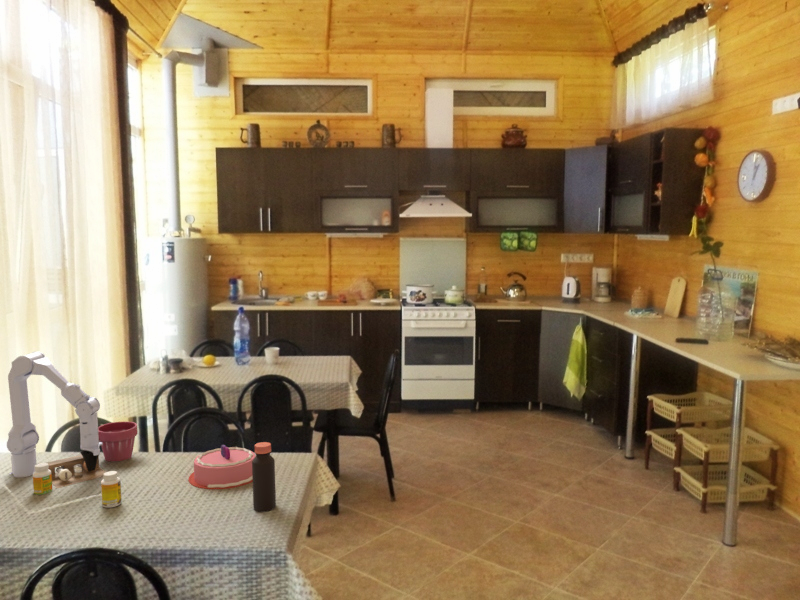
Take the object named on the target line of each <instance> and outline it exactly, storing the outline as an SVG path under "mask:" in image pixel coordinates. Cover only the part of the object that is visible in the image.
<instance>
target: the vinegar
mask: <svg viewBox="0 0 800 600" xmlns="http://www.w3.org/2000/svg"><path fill="white" fill-rule="evenodd" d="M254 453H255V456H256V457H255V458H254V459H253V461H252V479H253V482H252V500H253V501H252V502H253V504H252V505H253V506H252V507H253V510H254V511H256V512H259V513H265V512H270V511H273V510H274V509H275V508H276V506H277V499H276V492H277V491H276V466H275V465H276V464H275V463H276V462H275V458H274V457H273V456H272V455H271V453H272V443H271V442H267V441H263V442H262V441H261V442H257V443H256V444H254Z"/></svg>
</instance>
